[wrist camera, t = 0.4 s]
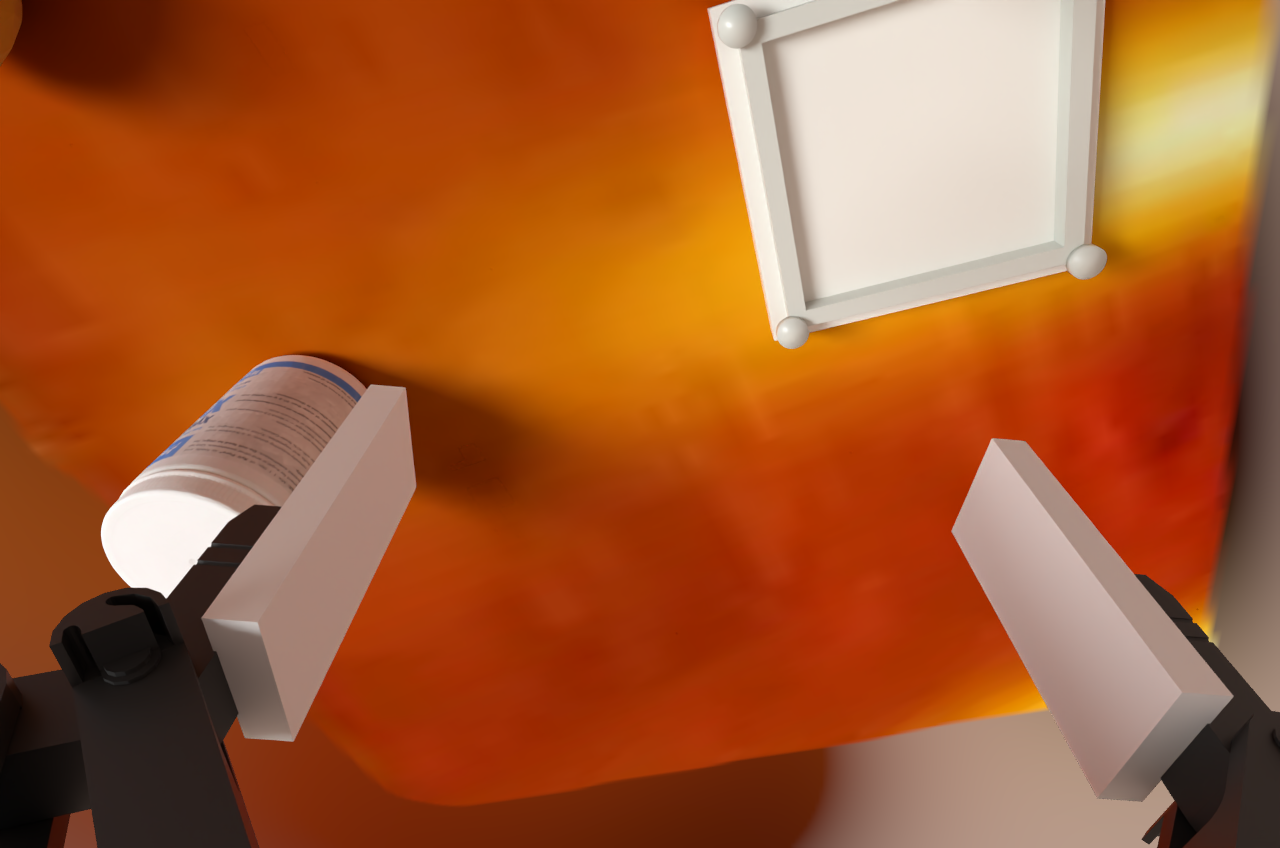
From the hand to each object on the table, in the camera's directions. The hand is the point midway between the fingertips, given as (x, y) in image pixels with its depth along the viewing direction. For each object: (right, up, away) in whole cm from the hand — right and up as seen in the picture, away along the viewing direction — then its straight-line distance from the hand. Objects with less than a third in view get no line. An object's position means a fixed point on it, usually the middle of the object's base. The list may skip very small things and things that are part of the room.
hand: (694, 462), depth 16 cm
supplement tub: (-23, +2, +32) cm, 39 cm away
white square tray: (+13, +16, +22) cm, 30 cm away
